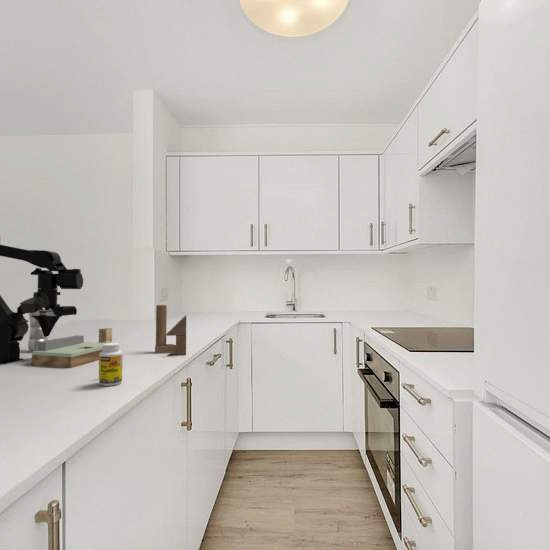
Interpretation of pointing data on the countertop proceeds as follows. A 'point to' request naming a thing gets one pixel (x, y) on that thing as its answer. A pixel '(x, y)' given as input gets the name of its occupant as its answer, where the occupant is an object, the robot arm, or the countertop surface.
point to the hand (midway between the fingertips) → (46, 336)
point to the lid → (67, 347)
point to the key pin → (105, 335)
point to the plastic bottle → (35, 334)
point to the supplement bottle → (110, 365)
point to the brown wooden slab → (65, 360)
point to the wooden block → (169, 334)
